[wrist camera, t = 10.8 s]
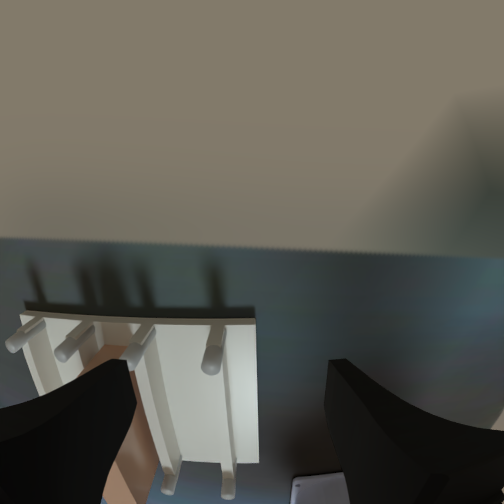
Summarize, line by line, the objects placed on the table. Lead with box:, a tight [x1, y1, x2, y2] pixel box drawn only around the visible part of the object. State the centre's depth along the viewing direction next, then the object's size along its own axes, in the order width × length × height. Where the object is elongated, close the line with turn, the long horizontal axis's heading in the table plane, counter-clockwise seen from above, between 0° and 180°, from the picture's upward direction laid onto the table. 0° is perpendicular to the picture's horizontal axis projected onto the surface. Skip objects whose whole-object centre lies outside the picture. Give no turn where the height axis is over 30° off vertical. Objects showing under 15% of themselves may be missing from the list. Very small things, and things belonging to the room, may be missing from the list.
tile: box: [76, 344, 159, 504], centre depth 17 cm, size 10×2×7 cm, turn 2°
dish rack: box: [5, 310, 259, 500], centre depth 19 cm, size 13×18×5 cm
